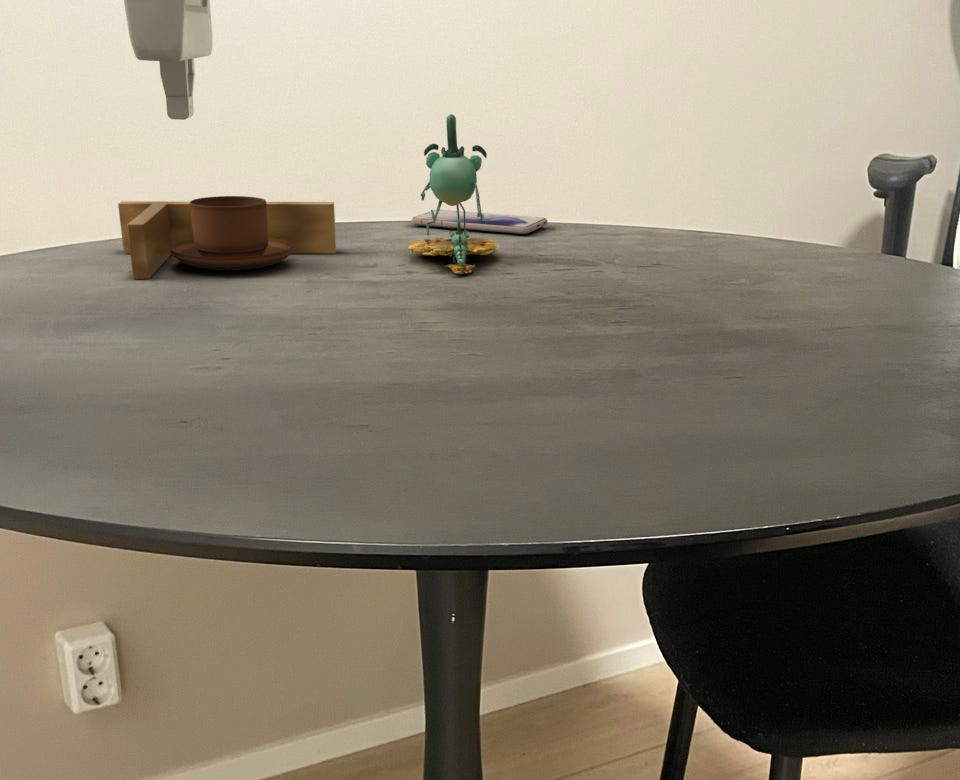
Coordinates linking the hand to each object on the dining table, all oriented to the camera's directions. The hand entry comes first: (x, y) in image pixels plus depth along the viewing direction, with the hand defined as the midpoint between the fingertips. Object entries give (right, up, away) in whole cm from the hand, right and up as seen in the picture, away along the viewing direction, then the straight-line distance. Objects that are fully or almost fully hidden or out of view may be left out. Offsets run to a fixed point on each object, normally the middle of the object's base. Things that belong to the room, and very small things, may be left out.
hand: (180, 118), depth 106 cm
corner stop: (0, -7, +20) cm, 21 cm away
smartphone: (+25, +5, +42) cm, 49 cm away
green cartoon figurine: (+22, -5, +23) cm, 33 cm away
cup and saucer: (+1, -7, +19) cm, 20 cm away
